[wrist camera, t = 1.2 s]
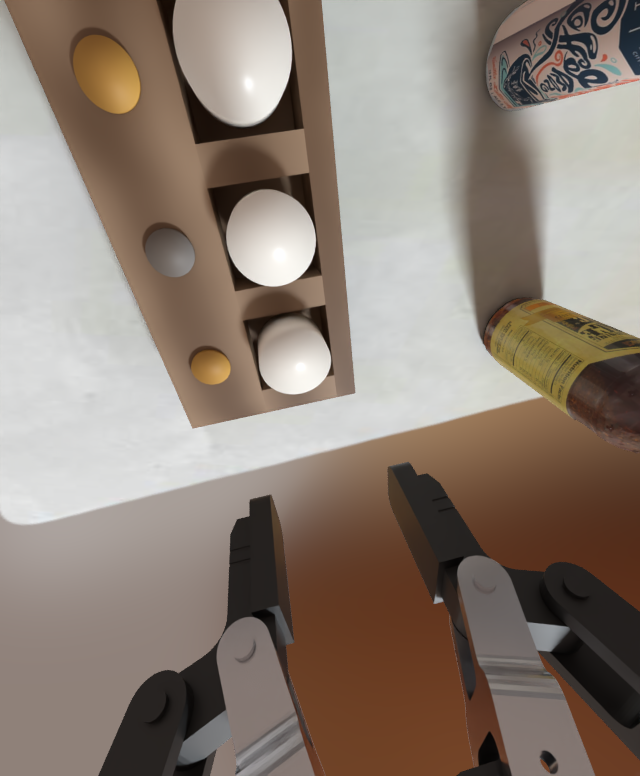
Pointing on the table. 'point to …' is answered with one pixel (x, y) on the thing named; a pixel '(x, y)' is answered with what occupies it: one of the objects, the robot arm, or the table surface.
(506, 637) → the robot arm
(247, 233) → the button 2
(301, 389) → the button
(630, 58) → the beer can
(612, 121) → the table surface
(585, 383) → the sauce bottle
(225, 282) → the button board
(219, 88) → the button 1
